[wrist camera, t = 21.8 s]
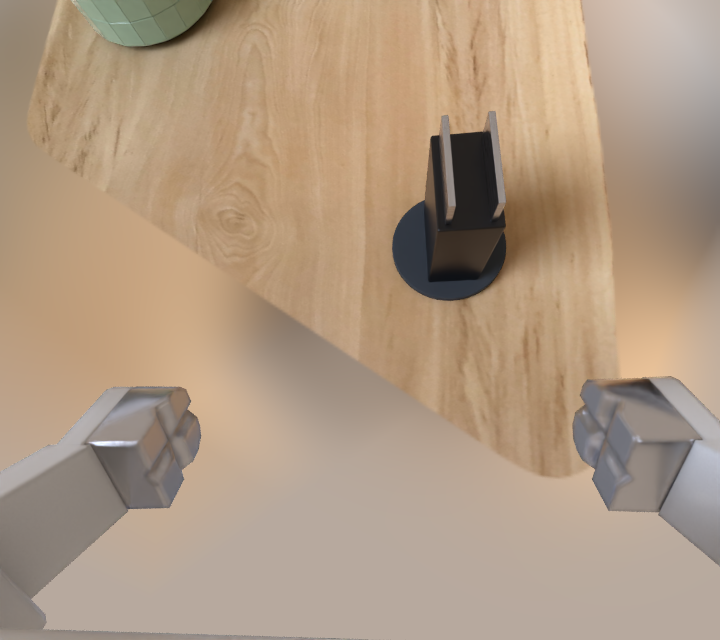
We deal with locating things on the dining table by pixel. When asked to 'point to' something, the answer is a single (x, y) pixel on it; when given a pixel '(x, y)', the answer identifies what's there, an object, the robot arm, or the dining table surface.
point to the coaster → (414, 261)
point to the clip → (463, 201)
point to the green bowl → (141, 19)
